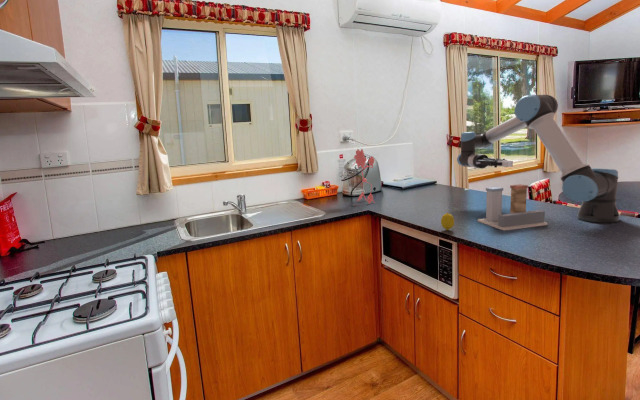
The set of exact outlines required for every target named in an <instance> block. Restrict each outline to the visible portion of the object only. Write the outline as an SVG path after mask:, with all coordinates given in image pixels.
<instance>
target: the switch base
mask: <svg viewBox="0 0 640 400" xmlns="http://www.w3.org/2000/svg"><path fill="white" fill-rule="evenodd" d="M545 214H546V211H545V210H543V209H542V210H541V209H537V210H536V209H535V210H529V211H527V210H526V212H519V213H505V214H504V213H503V214H501V215H499V219H498V221H490V220H487V219H486V217H485V218H477V222H478V223H481V224H483V225H484V224H485V225H487V226H490V227H493V228H496V229H498V230H501V231H512V230H519V229H525V228H526V229H527V228H534V227H535V228H536V227H541V226H547V225H548V222H546V221H545V218H546V217H545V216H546V215H545Z"/></svg>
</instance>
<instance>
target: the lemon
mask: <svg viewBox="0 0 640 400" xmlns="http://www.w3.org/2000/svg"><path fill="white" fill-rule="evenodd" d="M440 223H441V226H442V228H444V229H445V230H446V231H449V230H451V229H452V228H453V227H454V225H455V218H454V216H453V215H452V214H451V213H449V212H446V213H445V214H443V215H442V217H441V220H440Z"/></svg>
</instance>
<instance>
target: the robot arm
mask: <svg viewBox="0 0 640 400" xmlns="http://www.w3.org/2000/svg"><path fill="white" fill-rule="evenodd" d="M514 106H515V107H514V115H515V116H513V117H511V118H509V119H506V121H504V122H502V123H500V124H498V125H496V126H494V127H492V128H490V129H488V130H487V131H485V132H483V133H480V134H476V132H475V131H465V132H462V133H461V136H460V153H459V154H458V156H457V158H456V161H457V164H458V165H459V166H461V167H467V168H474V169H486V168H487V167H494V168H497V167H502V168H503V167H504V168H509V167H510V168H512V167H514V166H513V165H514V162H513V160H507V159H506V158H496V159H495V158H491V157H488V155H486V154H481V153H476V149H480V148H488V147H491V146H492V145H494V143H496V142H498V141H500V140H502V139H504V138H506V137H508V136H510V135H512V134H515V133H517V132H518V131H520V130H523V129H525V128H527V129H530V130H534V131H535V134H536V135H537V137H538V138H539V140H540V141H541V143H542V144H543V146H544V147H545V150H546V151H547V153H548V154H549V156H550V157H551V158H552V160H553V162H554V164H556V167H557V168H558V170H559V171H560V173H561V175H560V180H561V181H562V186H561V190H562V193H563V195H565V197H566V198H567V199H569V200H570V201H573V202H579V203H581V202H582V203H581V205H580V207H579V209H578V211H577V216H576V217H577V219H579V220H581V221H585V222H590V223H600V224H602V223H603V224H607V223H608V224H610V223H611V224H612V223H618V222H619V221H620V213H619V210H618V207H617V203H616V200H617V190H618V181H619V171H618V170H617V169H614V168H595V167H594V168H592V167H591V166H590V164H586V163H584V162H582V161H583V160H581V158H580V157H579V156H578V153H577V152H576V151H575V149H574V147H573V146H572V145H571V143H570V142H569V140H568V138H567V137H566V136H565V134H564V133H563V131H562V130H561V128H560V127H559V125H558V124H557V122H556V120H555V118H554V117H555V115H556V113H557V111H558V108H559V104H558V100H557V99H556V98H555V97H554V96H552V95H551V94H532V93H531V94H528V95H524V96H522V97H521V98H520V99H519V100H518V101H517V102H516V104H515V105H514Z"/></svg>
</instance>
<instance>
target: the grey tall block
mask: <svg viewBox="0 0 640 400" xmlns="http://www.w3.org/2000/svg"><path fill="white" fill-rule="evenodd" d="M485 191H486V205H485V207H486V208H485V210H486V211H485V218H486V219H487V220H490V221H498V219H499V215H502V210H503V209H502V208H503V206H502V205H503V191H504V188H503V187H499V186H492V187H490V186H489V187H485Z"/></svg>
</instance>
